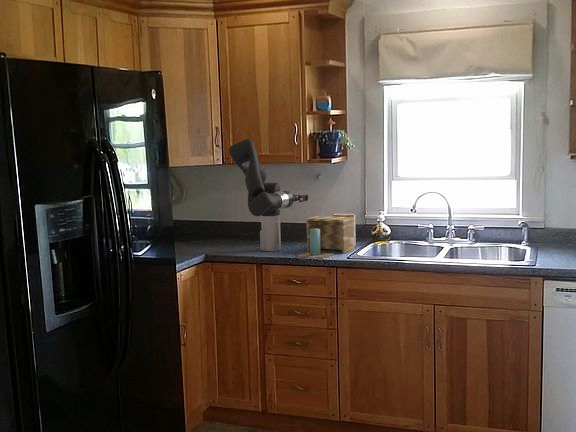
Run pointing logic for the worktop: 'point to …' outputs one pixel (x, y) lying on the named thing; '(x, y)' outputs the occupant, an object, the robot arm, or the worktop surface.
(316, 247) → the tin
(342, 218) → the cubby
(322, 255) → the trivet
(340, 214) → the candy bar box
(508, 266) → the worktop surface
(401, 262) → the worktop surface
